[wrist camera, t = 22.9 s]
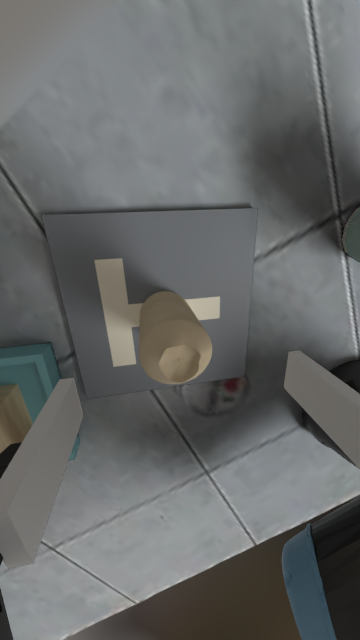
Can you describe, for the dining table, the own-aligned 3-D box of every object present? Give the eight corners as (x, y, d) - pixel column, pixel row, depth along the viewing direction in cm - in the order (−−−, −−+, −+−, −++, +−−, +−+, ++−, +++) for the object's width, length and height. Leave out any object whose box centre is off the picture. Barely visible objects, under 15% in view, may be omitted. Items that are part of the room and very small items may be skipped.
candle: (129, 305, 23) (122, 353, 14) (176, 281, 23) (199, 313, 14) (154, 345, 26) (163, 409, 16) (197, 323, 25) (229, 375, 16)
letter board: (254, 208, 23) (258, 207, 22) (242, 373, 30) (244, 376, 29) (44, 215, 20) (41, 215, 19) (88, 394, 27) (86, 399, 27)
